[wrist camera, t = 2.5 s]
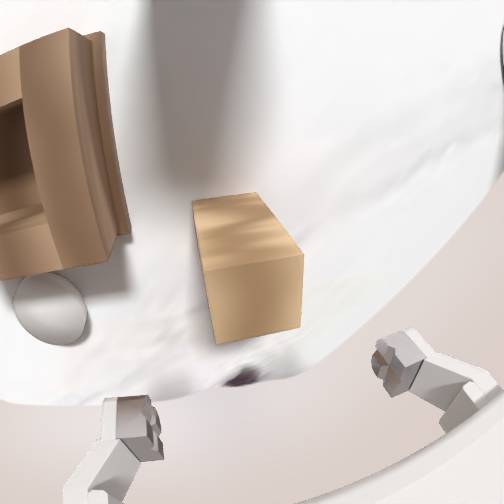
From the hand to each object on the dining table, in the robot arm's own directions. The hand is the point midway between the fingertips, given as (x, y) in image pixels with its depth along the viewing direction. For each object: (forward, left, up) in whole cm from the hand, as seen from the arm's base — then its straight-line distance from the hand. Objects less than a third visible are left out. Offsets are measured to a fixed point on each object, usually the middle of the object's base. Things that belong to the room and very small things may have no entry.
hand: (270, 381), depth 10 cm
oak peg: (-1, 0, -12) cm, 12 cm away
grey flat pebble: (+13, +4, -12) cm, 19 cm away
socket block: (+11, -7, -12) cm, 18 cm away
